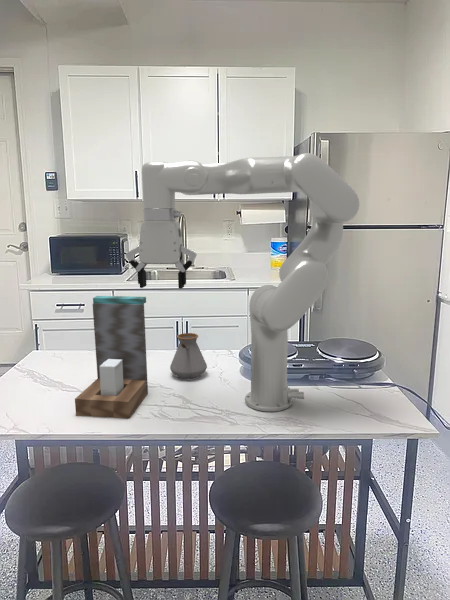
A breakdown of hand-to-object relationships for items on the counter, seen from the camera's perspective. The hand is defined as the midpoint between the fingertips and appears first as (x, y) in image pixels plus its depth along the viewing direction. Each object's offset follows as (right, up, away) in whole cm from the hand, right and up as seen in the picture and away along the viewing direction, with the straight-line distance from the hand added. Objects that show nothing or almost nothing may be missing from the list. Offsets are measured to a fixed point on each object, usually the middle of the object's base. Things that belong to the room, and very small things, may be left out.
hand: (162, 287), depth 111 cm
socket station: (-14, -31, +11) cm, 36 cm away
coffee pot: (+4, -28, +26) cm, 38 cm away
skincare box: (-14, -31, +10) cm, 36 cm away
